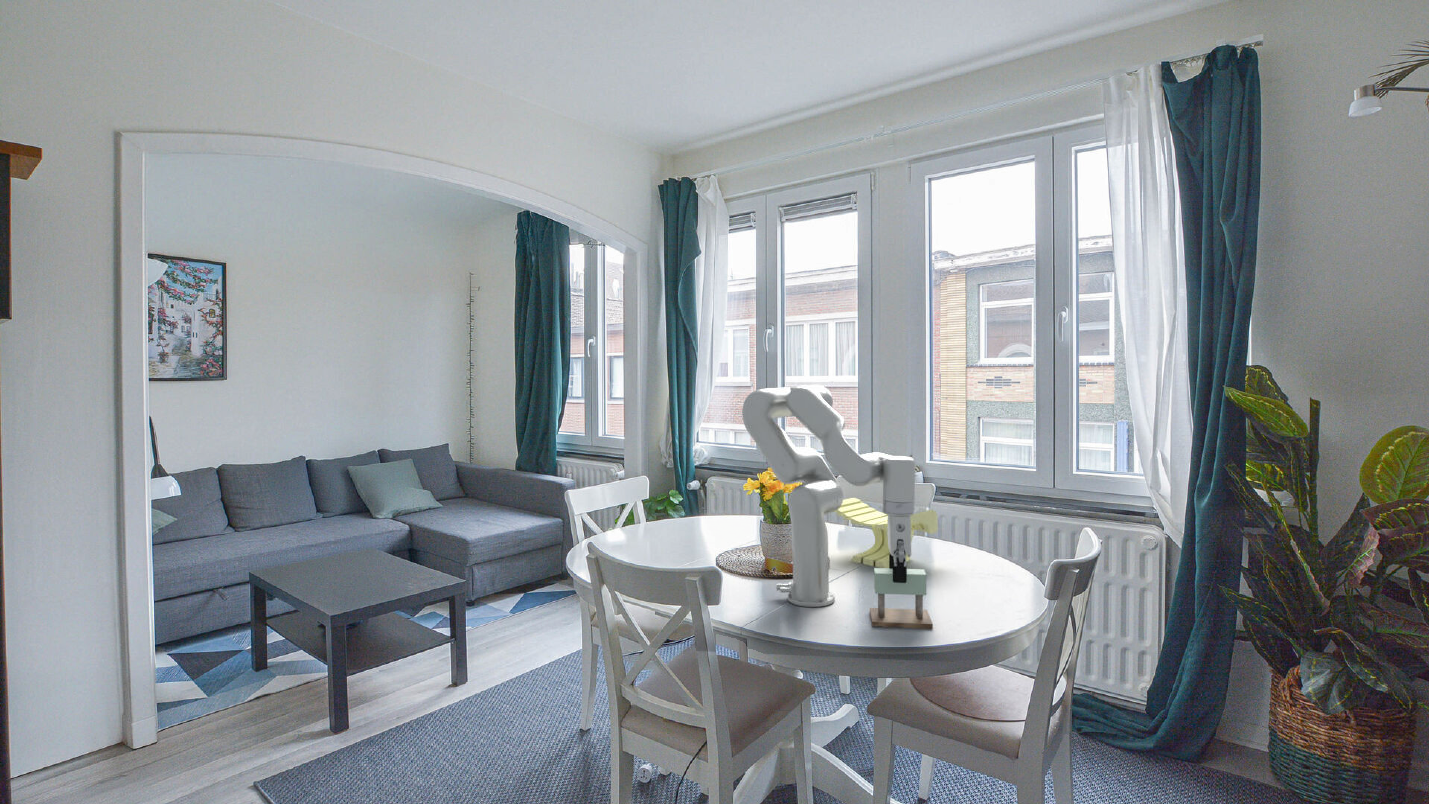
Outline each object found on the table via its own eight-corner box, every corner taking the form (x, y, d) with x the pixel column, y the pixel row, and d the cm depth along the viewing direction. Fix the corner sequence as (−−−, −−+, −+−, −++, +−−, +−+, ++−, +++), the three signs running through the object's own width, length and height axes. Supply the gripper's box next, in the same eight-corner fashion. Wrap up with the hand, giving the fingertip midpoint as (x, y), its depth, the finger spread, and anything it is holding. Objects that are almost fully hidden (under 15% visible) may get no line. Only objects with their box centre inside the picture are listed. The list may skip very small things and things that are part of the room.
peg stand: (872, 626, 170) (872, 597, 170) (869, 612, 180) (869, 584, 180) (932, 628, 168) (932, 599, 168) (926, 614, 178) (926, 586, 177)
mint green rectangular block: (926, 595, 170) (926, 574, 170) (875, 593, 172) (875, 573, 172) (924, 589, 175) (923, 569, 175) (874, 588, 177) (874, 568, 177)
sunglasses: (755, 571, 220) (757, 554, 220) (786, 567, 230) (787, 552, 231) (791, 579, 210) (792, 562, 210) (821, 576, 220) (823, 559, 221)
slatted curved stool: (937, 564, 223) (937, 507, 222) (909, 574, 212) (908, 515, 211) (859, 547, 245) (858, 496, 244) (830, 556, 234) (829, 502, 234)
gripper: (919, 515, 164) (917, 588, 165) (910, 500, 181) (909, 566, 182) (885, 514, 165) (884, 586, 166) (880, 499, 182) (879, 565, 183)
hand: (897, 576), depth 174 cm, fingers open, 9 cm apart
